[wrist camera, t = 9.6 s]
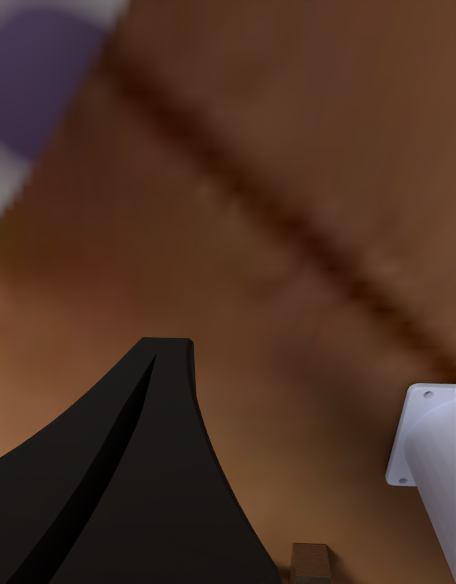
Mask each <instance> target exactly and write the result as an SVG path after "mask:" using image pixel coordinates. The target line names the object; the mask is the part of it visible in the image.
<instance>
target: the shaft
mask: <svg viewBox="0 0 456 584" xmlns="http://www.w3.org/2000/svg"><path fill="white" fill-rule="evenodd" d="M331 578H332V577H331V571H330V565H329V559H328V553H327V547H326V545H322V544H298V543H293V549H292V558H291V566H290V575H289V584H330V583H331Z"/></svg>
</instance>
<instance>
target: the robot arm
mask: <svg viewBox="0 0 456 584" xmlns="http://www.w3.org/2000/svg"><path fill="white" fill-rule="evenodd" d="M428 391H430V392H429V393H427V394H425V393H426V392H428ZM385 478H386V481H387V483H388V484H390V485H394V486H417V489H418V491H419V494H420V496H421V498H422V501H423V503H424V506H425V508H426V511H427V513H428V516H429V518H430V521H431V523H432V526H433V528H434V530H435V533H436V535H437V538H438V540H439V543H440V545H441V548H442V550H443V553H444V555H445V558H446V560H447V562H448V565H449V567H450V570H451V572H452V575H453V577H454V580H455V582H456V384H424V383H418V384H414V385H411V386H410V387H409V389H408V391H407V395H406V399H405V402H404V406H403V410H402V414H401V418H400V421H399V425H398V429H397V433H396V437H395V441H394V444H393V448H392V452H391V456H390V460H389V463H388V467H387V471H386V475H385ZM0 584H282V581H281V578H280V575H279V572H278V569H277V567H276V565H275V563H274V562H273V560H272V559H271V557H270V556H269V554H268V552H267V551H266V549H265V548H264V546H263V544H262V543H261V541H260V540H259V538H258V536H257V535H256V533H255V531H254V530H253V528H252V526H251V524H250V523H249V521H248V519H247V517H246V515H245V514H244V512H243V510H242V508H241V506H240V505H239V503H238V501H237V499H236V497H235V495H234V493H233V491H232V489H231V487H230V485H229V483H228V481H227V478H226V476H225V474H224V472H223V470H222V468H221V466H220V464H219V461H218V459H217V456H216V454H215V452H214V449H213V447H212V444H211V441H210V439H209V436H208V433H207V431H206V428H205V425H204V422H203V418H202V415H201V412H200V408H199V405H198V401H197V397H196V381H195V362H194V344H193V341H191V340H190V339H189V338H151V337H143V338H142V339H140V340H139V341H138V342H137V343H136V344H135V345H134V346H133V347H132V348H131V349H130V350H129V351H128V352H127V353H126V354H125V356H124V357H123V358H122V359H121V360H120V361H119V362H118V363H117V364H116V365H115V366H114V367H113V368H112V369H111V370H110V371H109V372H108V373H107V374H106V375H104V376H103V377H102V378H101V379H100V380H99V381H98V382H97V383H96V384H95V385H94V386H93V387H92V388H91V389H90V390H89V391H88V392H87V393H85V394H84V395H83V396H82V397H81V398H80V399H79V400H77V401H76V402H75V403H74V404H73V405H72V406H70V407H69V408H68V409H67V410H66V411H65V412H64V413H62V414H61V415H60V416H59V417H57V418H56V419H55V420H54V421H52V422H51V423H50V424H48V425H47V426H46V427H44V428H43V429H42V430H40V431H39V432H37V433H36V434H35V435H33V436H32V437H31V438H29V439H28V440H26V441H25V442H24V443H22V444H21V445H19V446H18V447H16V448H15V449H13V450H11V451H10V452H8V453H7V454H5V455H4V456H2V457H1V458H0Z"/></svg>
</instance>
